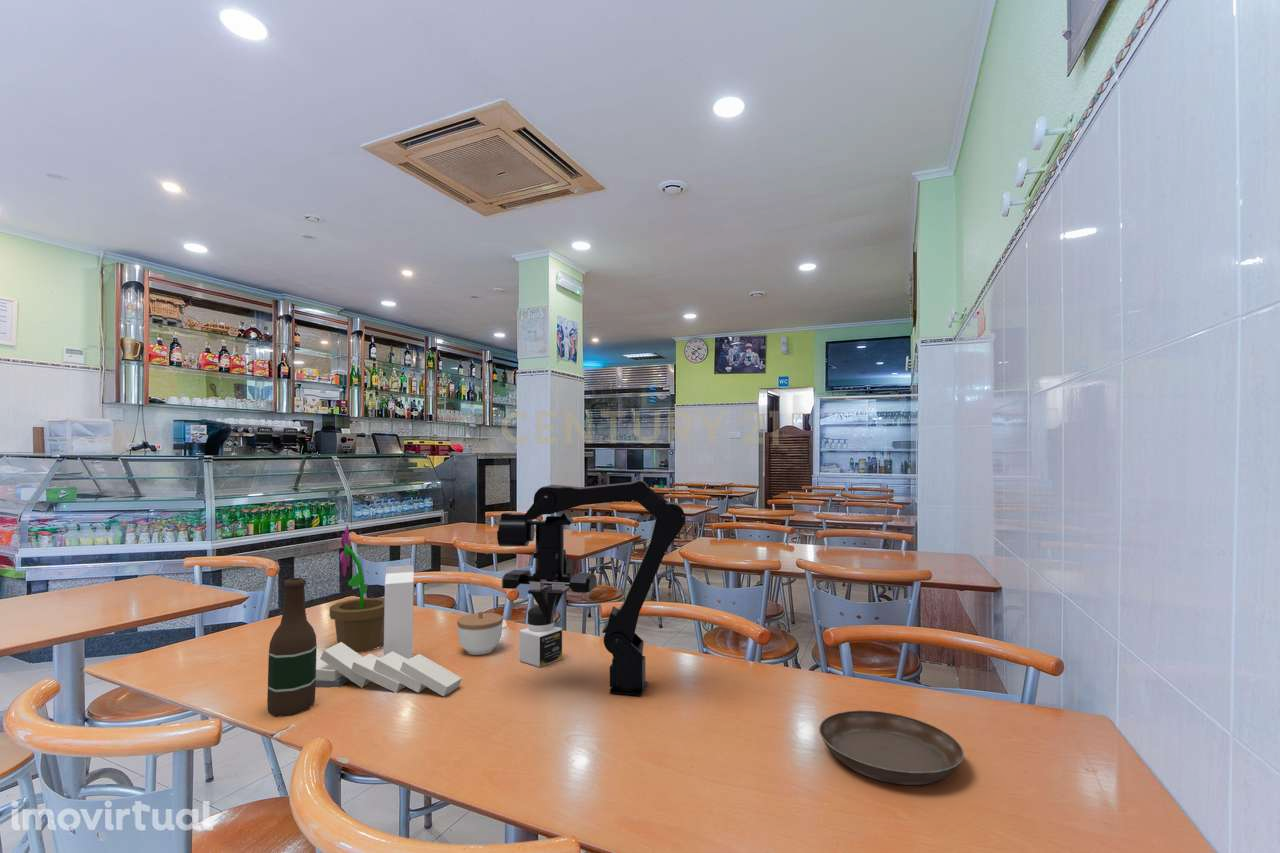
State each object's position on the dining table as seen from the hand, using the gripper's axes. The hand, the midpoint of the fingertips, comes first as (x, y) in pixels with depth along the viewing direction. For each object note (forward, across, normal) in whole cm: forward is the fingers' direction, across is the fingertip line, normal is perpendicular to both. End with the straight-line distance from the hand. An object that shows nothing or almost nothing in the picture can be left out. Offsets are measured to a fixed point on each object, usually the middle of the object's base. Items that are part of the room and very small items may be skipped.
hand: (549, 623), depth 119 cm
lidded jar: (+13, +25, -18) cm, 33 cm away
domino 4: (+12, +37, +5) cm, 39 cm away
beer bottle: (+13, +44, +19) cm, 50 cm away
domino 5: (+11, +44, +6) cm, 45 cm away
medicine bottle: (+13, +8, -15) cm, 22 cm away
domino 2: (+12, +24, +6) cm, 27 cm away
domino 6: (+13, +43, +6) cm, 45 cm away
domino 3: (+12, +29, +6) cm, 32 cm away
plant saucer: (+13, -62, +14) cm, 65 cm away
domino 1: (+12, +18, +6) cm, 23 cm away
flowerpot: (+13, +56, -15) cm, 59 cm away
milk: (+13, +39, -6) cm, 42 cm away
